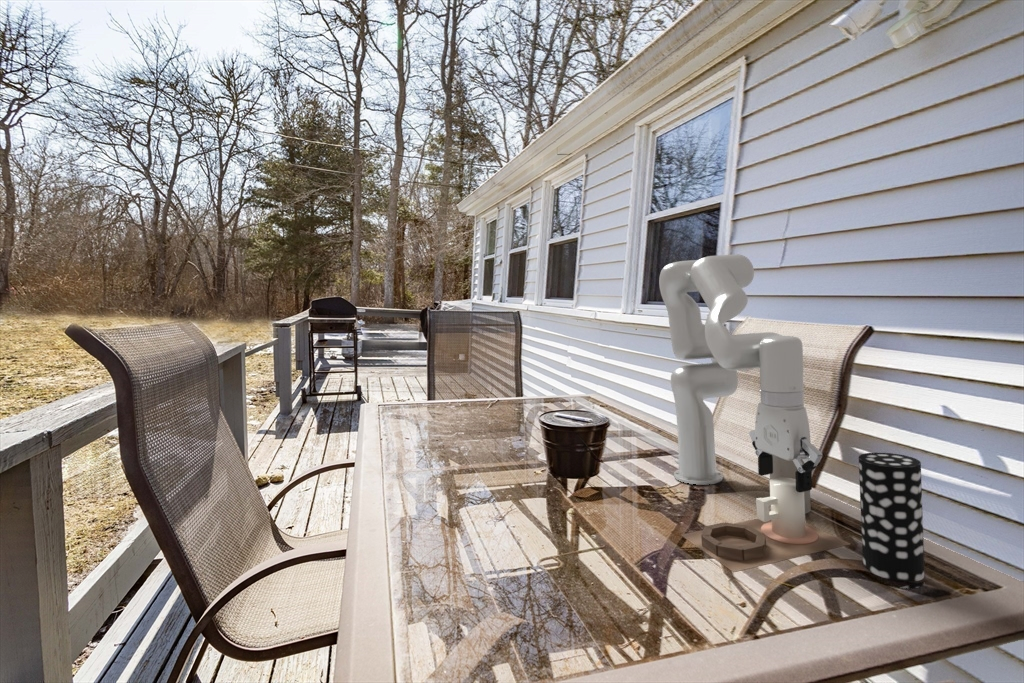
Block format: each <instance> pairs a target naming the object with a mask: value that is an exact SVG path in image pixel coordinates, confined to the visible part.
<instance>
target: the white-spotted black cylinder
mask: <svg viewBox="0 0 1024 683" xmlns="http://www.w3.org/2000/svg"><path fill="white" fill-rule="evenodd" d="M858 472H859V473H858V479H859V498H860V499H859V500H860V502H859V503H860V504H859V505H860V522H861V523H860V525H861V530H860V531H861V552H862V553H861V554H862V565H863V567H864V568H865V569H866V570H867V571H868V572H869V573H872V574H874V575H875V576H878V577H881V578H884V579H888V580H891V581H894V582H895V581H897V582H902V583H903V582H904V583H905V582H906V583H911V584H908V585H904V586H900V587H899V589H906V588H907V589H909V588H910V589H911V588H912V589H917V588H918V589H919V588H921V587H923V586H924V585H925V582H926V581H925V580H924V578H925V575H926V574H925V553H924V552H925V548H924V547H925V546H924V520H923V518H924V517H923V494H922V491H923V490H922V489H923V487H922V486H923V485H922V462H921V461H920V460H919V459H918V458H914V457H913V456H912V457H911V456H908V455H904V454H900V453H899V454H898V453H893V452H892V453H891V452H866V453H862V454H859V455H858ZM921 580H922V581H921ZM913 582H915V583H913ZM907 589H906V590H907ZM910 589H909V590H910Z"/></svg>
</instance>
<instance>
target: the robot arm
mask: <svg viewBox="0 0 1024 683" xmlns="http://www.w3.org/2000/svg"><path fill="white" fill-rule="evenodd" d="M754 277H755V270H754V265H753V263H752V262H751V260H750V259H749V258H748V257H747V256H745V255H743V254H741V253H740V254H735V253H734V254H720V255H707V256H705V257H702V258H699V259H693V260H692V259H691V260H680V261H673V262H672V263H671V262H670V263H668V264H666V265H664V267H663V268H662V269H661V271H660V274H659V278H658V279H659V280H658V281H659V283H658V284H659V285H658V286H659V291H660V295H661V298H662V300H663V303H664V305H665V307H666V308H665V309H666V311H667V315H668V324H669V331H670V332H669V333H670V339H671V347H672V352H673V354H674V356H675V357H676V358H677V359H679V360H681V361H682V360H683V361H684V360H685V361H686V360H687V361H689V360H692V361H693V360H702V359H703V360H704V359H705V360H706V359H711V363H710V362H709V363H708V362H707V363H696V364H693V363H692V364H688V365H687V364H686V365H682V366H679V367H676V368H675V369H674V370H673V371H672V373H671V376H670V386H671V389H672V394H673V399H674V404H675V412H676V413H675V414H676V415H675V416H676V426H677V427H676V428H677V443H678V444H677V445H678V458H675V459H674V462H675V463H676V464H678V469H676V470H675V471H674V472H673V476H675V477H674V479H675V478H676V479H675V480H676V481H678V480H679V481H678V482H680V481H681V483H683V482H684V483H683V484H687V483H689V484H688V485H693V484H696V485H695V486H708V485H709V484H710V485H714V484H715V485H716V484H718V483H721V482H722V480H723V473H722V472H721V471H719V470H717V464H716V463H717V462H716V461H717V460H716V445H715V444H716V443H715V442H716V441H715V426H714V416H713V413H712V411H711V409H710V407H708V405H707V404H706V403H705V402H704V400H707V399H714V398H723V397H729V396H732V395H733V394H735V392H736V391H737V390H738V386H739V382H738V381H739V378H738V371H744V370H752V369H753V370H754V369H758V370H759V386H760V387H759V388H760V390H759V395H760V402H758V405H757V408H756V412H755V413H756V415H755V423H754V429H753V430H751V431H749V436H750V439H751V442H752V443H751V445H752V446H753V448H754V450H755V456H757V471H758V472H757V473H758V475H759V476H766V475H770V474H772V473H773V457H772V455H773V456H776V457H779V458H781V459H784V460H788V461H790V460H793V462H794V464H795V465H796V467H797V469H798V471H796V473H795V475H796V491H797V492H805V491H809V490H810V491H811V490H812V489H813V477H812V475H813V474H812V472H813V471H815V470H816V468H818V466H819V465H820V462H821V460H822V458H823V457H824V456H823V452H822V451H820V449H818V448H817V447H816V446H815V445H814V444H813V443H811V431H810V423H809V417H808V412H807V409H806V407H805V399H804V398H805V395H804V394H805V392H804V391H805V390H804V352H803V351H804V349H803V348H804V347H803V342H802V340H801V339H800V338H799V337H797V336H794V335H793V336H791V335H781V334H779V333H778V332H769V331H768V332H767V331H766V332H756V333H755V332H754V333H751V332H750V333H739V334H731V332H730V330H729V329H728V328H727V327H726V325H724V324H725V323H726V322H728V321H731V320H732V319H733V318H734V319H735V318H736V317H737V316H739V314H741V313H743V311H744V310H745V308H746V306H747V305H748V300H749V299H748V298H749V297H748V295H747V294H746V292H745V291H744V288H747V287H748V286H750V284H752V282H753V280H754ZM693 292H694V293H695V292H697V293H698V292H699V294H700V296H701V297H702V299H703V301H704V303H705V304H706V306H707V309H709V313H708V314H707V317H706V319H705V323H703V321H702V314H701V309H700V306H699V304H698V303H697V302H696V301H695V300H694V298H693V297H692V296H691V295H689V294H688V293H693ZM769 454H770V455H769ZM801 459H802V460H803V461H804V463H805V464H802V463H801V461H800V460H801Z"/></svg>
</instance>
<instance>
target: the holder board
mask: <svg viewBox="0 0 1024 683" xmlns="http://www.w3.org/2000/svg"><path fill="white" fill-rule="evenodd" d="M805 523H806V535H805V536H804V537H801V538H787V537H782V536H779V535H777V534H775V533H774V532H773V531H772V523H771V520H770V521H767V522H763V521H761V520H759V519H757V518H753V519H749V520H744V521H739V522H735V523H732V522H719V523H715V524H709V525H705V526H704V528H703V529H701V530H696V531H691V532H687V533H681V534H680V536H681V537H683V538H684V539H685V540H687V541H688V542H690V543H691V544H693V545H694V546H695V547H697V548H698V549H700V550H701V551H702V552H704V553H705V554H707V555H708V556H710V558H712V559H714V560H715V561H717V562H719V564H721V566H724V567H725V568H727V569H728V570H730V571H731V572H733V573H737V572H742V571H745V570H750V569H753V568H757V567H761V566H766V565H769V564H774V563H779V562H784V561H787V560H791V559H795V558H799V557H802V556H803V557H804V556H809V555H812V554H816V553H821V552H824V551H829V550H833V549H837V548H840V547H846V546H850V545H851V543H850V542H848V541H846V540H845V539H841V538H839V537H837V536H835V535H833V534H830V533H828V532H827V531H824V530H822V529H820V528H818V527H815V526H813V525H812V524H809V523H807V522H805Z"/></svg>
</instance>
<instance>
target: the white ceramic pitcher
mask: <svg viewBox="0 0 1024 683" xmlns="http://www.w3.org/2000/svg"><path fill="white" fill-rule="evenodd" d="M755 504H756V519H759V520H761V521H763V522H767V521H770V520H771V523H772V531H773V532H774V533H775V534H777V535H779V536H782V537H787V538H801V537H804V536H805V535H806V523H807V522H806V513H805V500H804V492H797V491H796V479H792V478H773V479H771V480H770V479H769V496H766V497H758V498H757V497H756V498H755Z"/></svg>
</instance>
